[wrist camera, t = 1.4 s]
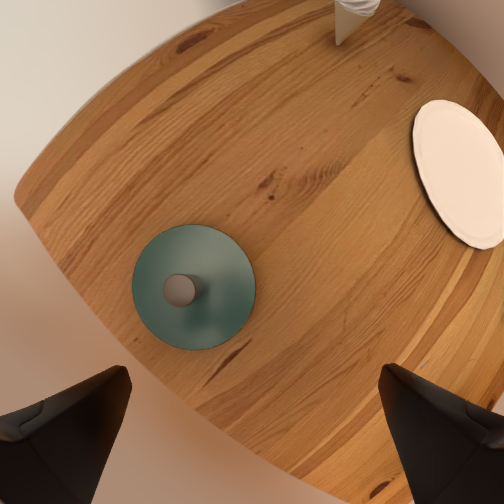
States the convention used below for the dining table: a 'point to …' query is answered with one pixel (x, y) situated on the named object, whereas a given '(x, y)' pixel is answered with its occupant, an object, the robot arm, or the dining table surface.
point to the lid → (193, 287)
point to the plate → (461, 172)
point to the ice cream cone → (352, 16)
